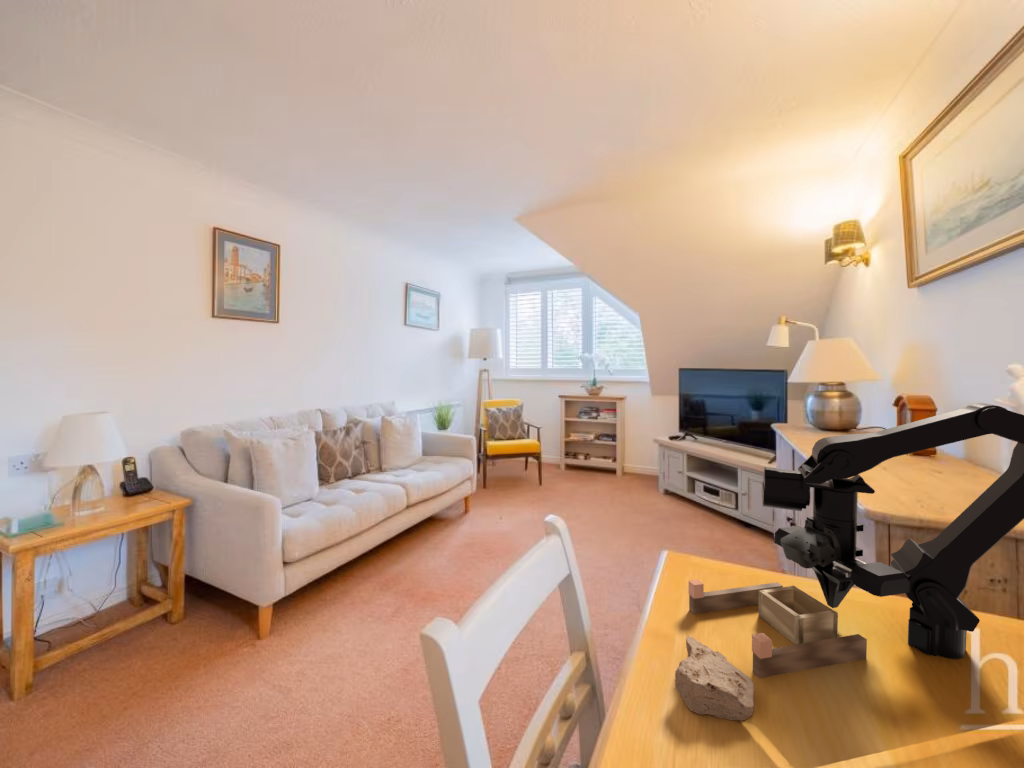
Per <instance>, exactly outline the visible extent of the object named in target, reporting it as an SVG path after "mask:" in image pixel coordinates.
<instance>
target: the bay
mask: <svg viewBox="0 0 1024 768" xmlns="http://www.w3.org/2000/svg"><path fill="white" fill-rule="evenodd" d="M704 586H705V585H704V583H703V582H702V581H701V580H699V579H691V580H688V596H689V597H688V598H689V599H688V600H689V601H688V602H689V603H688V604H689V605H688V606H689V608H688V609H689V612H690V613H691V614H692V615H699V614H705V613H706V614H707V613H712V612H713V613H714V612H719V611H726V610H732V609H733V610H735V609H741V608H748V607H754V606H759V590H766V589H773V588H781V587H784V586H783V584H780V583H779V582H770V583H762V584H755V585H746V586H741V587H733V588H725V589H720V590H719V589H718V590H711V591H710V590H709V591H705V592H704ZM867 643H868V638H865V637H864V636H862V635H861V634H859V633H858V634H857V633H856V634H852V635H851V634H850V635H845V636H839V637H838V636H837V638H832V639H826V640H820V641H814V642H808V643H802V644H797V645H795V644H791V645H785V646H780V647H779V646H778V647H774V648H773V639H771V638H770V637H769V636H768V635H766V634H765V633H764V632H759V633H752V634H751V652H752V673H753V674H754V675H755V676H756V677H757V678H758V679H763V678H768V677H774V676H779V675H784V674H790V673H796V672H801V671H807V670H813V669H818V668H824V667H829V666H834V665H840V664H845V663H852V662H855V661H856V662H857V661H861V660H866V659H867V649H868V647H867V645H868V644H867Z"/></svg>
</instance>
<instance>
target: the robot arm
mask: <svg viewBox="0 0 1024 768" xmlns="http://www.w3.org/2000/svg"><path fill="white" fill-rule="evenodd" d="M986 435H994V436H999V437H1001V438H1003V439H1007V440H1010V441H1013V442H1016V445H1015V446H1014V447H1013V449H1012V454H1011V458H1010V461H1009V465H1008V468H1006V471H1004V472H1003V473H1002V474H1001V475H1000V476H999V477H998V478H997V479H996V480H995V481H994V482H993V483H991V485H990V486H989V487H987V488H986V489H985V490H984V491H983V492H982V493H981V494H980V495H979V496H978V497H976V499H974V501H973V502H971V504H969V505H968V506H967V507H966V509H964V510H963V511H962V512H961V513H960V514H959V515H958V516H957V517H956V518H955V519H954V520H953V521H952V522H950V524H948V526H947V527H945V528H944V529H943V530H942V531H941V532H940V533H939V534H938V535H937V536H936V537H935V538H933V539H931V540H928V541H925V542H923V543H919V544H918V543H917V542H916V541H914V540H913V539H912V538H907V539H906V541H905V542H904V543H903V545H902V546H901V548H899V549H898V550H897V551H895V552H892V553H891V554H890V557H891V558H892V560H891V561H890V563H889V565H888V564H885V563H883V562H881V561H874V562H869V563H868V562H865V561H862V560H860V559H858V558H857V557H863V556H864V555H863V554H864V552H863V551H864V549H863V548H860V547H857V539H858V537H857V533H858V532H864V524H862V523H861V522H860V523H859V522H858V500H859V499H858V497H859V496H858V495H859V494H860V493H862V494H871V495H872V494H875V492H876V491H875V489H874V488H873V487H872V486H871V485H870V484H869V483H867V482H866V481H865V479H864V478H863V477H862V476H861V475H860V474H862V473H865V472H867V471H870V470H872V469H874V468H875V467H878V465H880V464H882V463H883V462H885V461H888V460H890V459H892V458H896V457H901V456H904V455H909V454H913V453H917V452H921V451H926V450H930V449H933V448H938V447H941V446H947V445H949V444H950V445H951V444H955V443H957V442H962V441H966V440H969V439H974V438H978V437H984V436H986ZM762 477H763V478H762V481H761V505H762V507H765V508H772V509H781V510H788V511H789V510H790V511H796V512H802V511H803V509H804V510H806V509H807V507H810V505H811V488H812V489H813V494H812V495H813V498H812V499H813V501H812V504H813V505H812V516H807V517H806V519H805V521H804V527H802V526H800V525H798V526H797V525H796V526H786V527H779V528H777V530H776V531H775V532H774V544H776V545H777V546H779V547H781V548H782V551H783V552H784V556H785V558H786V559H787V560H789V561H792V562H794V563H796V564H798V565H799V566H800V567H801V568H804V569H812V570H813V572H814V574H815V575H816V578H817V580H818V583H819V585H820V588H821V591H822V593H823V596H824V599H825V602H826V604H827V605H826V606H827V607H829V608H831V609H837V608H838V607H839V606H840V604H841V603H842V602H843V600H844V599H845V598H846V596H847V595H848V594H849V592H850V591H851V589H852V588H853V587H854V586H855V587H857V588H859V589H861V590H863V591H865V592H867V593H869V594H871V595H872V596H875V597H880V598H882V597H889V596H897V595H902V594H905V595H906V597H907V598H908V599H909V600H910V601H911V607H909V616H908V617H909V619H908V623H907V624H908V627H907V645H909V646H910V647H912V648H914V649H916V650H917V651H919V652H921V653H922V654H924V655H926V656H932V657H940V658H944V659H949V660H961V659H964V658H965V657H966V656H965V655H966V651H967V632H969V633H970V632H974V631H975V629H976V628H977V627H978V625H979V623H980V621H981V620H980V619H979V616H977V615H976V614H975V613H974V612H973V611H972V610H971V609H970V608H969V606H968V605H967V604H966V603H964V601H963V600H962V599H961V598H960V596H961V595H962V593H963V592H964V591H965V589H966V587H967V584H968V581H969V578H970V577H969V576H970V573H971V569H972V566H973V565H974V564H975V563H976V562H978V561H979V560H980V559H981V558H982V557H983V556H984V555H986V553H988V551H990V550H992V548H994V546H996V545H997V544H998V543H999V542H1000V541H1001V540H1002V539H1003V538H1005V537H1006V536H1007V535H1008V534H1009V533H1010V532H1011V531H1013V530H1014V529H1015V527H1017V526H1018V525H1019V524H1020V523H1021V522H1022V521H1024V414H1021V413H1018V412H1015V411H1011V410H1009V409H1008V408H1006V407H1004V406H1000V405H994V404H990V403H984V402H978V403H977V402H976V403H972V404H969V405H967V406H965V407H963V408H959V409H955V410H952V411H949V412H944V413H941V414H936V415H934V416H930V417H927V418H922V419H919V420H915V421H913V422H908V423H904V424H900V425H896V426H893V427H890V428H885V429H883V430H878V431H874V432H867V433H852V434H851V433H850V434H849V433H848V434H843V435H841V434H840V435H833V436H832V435H831V436H826V437H823V438H821V439H818V440H817V441H815V443H814V445H813V447H812V448H811V455H810V456H809V457H808V458H807V459H806V460H805V461H804V462H803V463H801V464H800V466H799V467H798V468H797V470H790V469H779V468H776V467H768V466H765V467H764V468H763V476H762Z"/></svg>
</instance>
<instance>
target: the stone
mask: <svg viewBox="0 0 1024 768" xmlns="http://www.w3.org/2000/svg"><path fill="white" fill-rule="evenodd" d="M685 641H686V642H685V646H686V651H687V657H686V658H684V659H683V660H681V661H679V664H678V667H676V670H675V673H674V674H675V675H674V687H675V689H676V690H677V692H678V694H679V696H680V698H681V699H682V700H683V701H684V703H685V705H686V707H688V709H689V710H690V711H691V712H694V713H696V714H697V715H711V716H714V717H716V718H721V719H724V720H731V721H745V720H747V719H749V718H750V717H752V715H753V713H754V708H755V701H754V700H755V683H754V682H753V680H752V678H751V677H750V676H748V675H747V674H746V673H744V672H743V671H742V670H741V669H739V668H737V667H736V666H734V665H733V664H732V663H731V662H730V661H728V659H727V657H726V656H725V655H724V654H722V653H721V652H720V651H719V650H717V651H714V650H713V649H712V648H710V647H709V646H708V645H706V644H703V642H700V641H698V640H697V639H696V638H694V637H692V636H690V635H686V639H685Z"/></svg>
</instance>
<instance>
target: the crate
mask: <svg viewBox="0 0 1024 768" xmlns="http://www.w3.org/2000/svg"><path fill="white" fill-rule="evenodd" d="M758 617H759V618H761V620H763V621H764V622H766V623H767V624H768V625H769V626H771V627H772V628H774V630H775V631H776V632H778V633H780V634H781V635H782V636H783V637H784V638H787V640H788V641H790V642H792V644H793V645H797V644H802V643H808V642H814V641H820V640H826V639H832V638H838V628H839V625H838V620H839V619H838V618H839V613H838V612H837V611H836V610H834V609H833V608H831V607H830V606H828V605H826V604H824V603H822V602H821V601H819V600H818V599H817V598H814V597H813V596H811V595H810V594H808V593H806V592H805V591H803V590H802V589H800V588H798V587H797V586H795V585H788V586H783V587H781V588H773V589H766V590H759V605H758Z"/></svg>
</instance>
